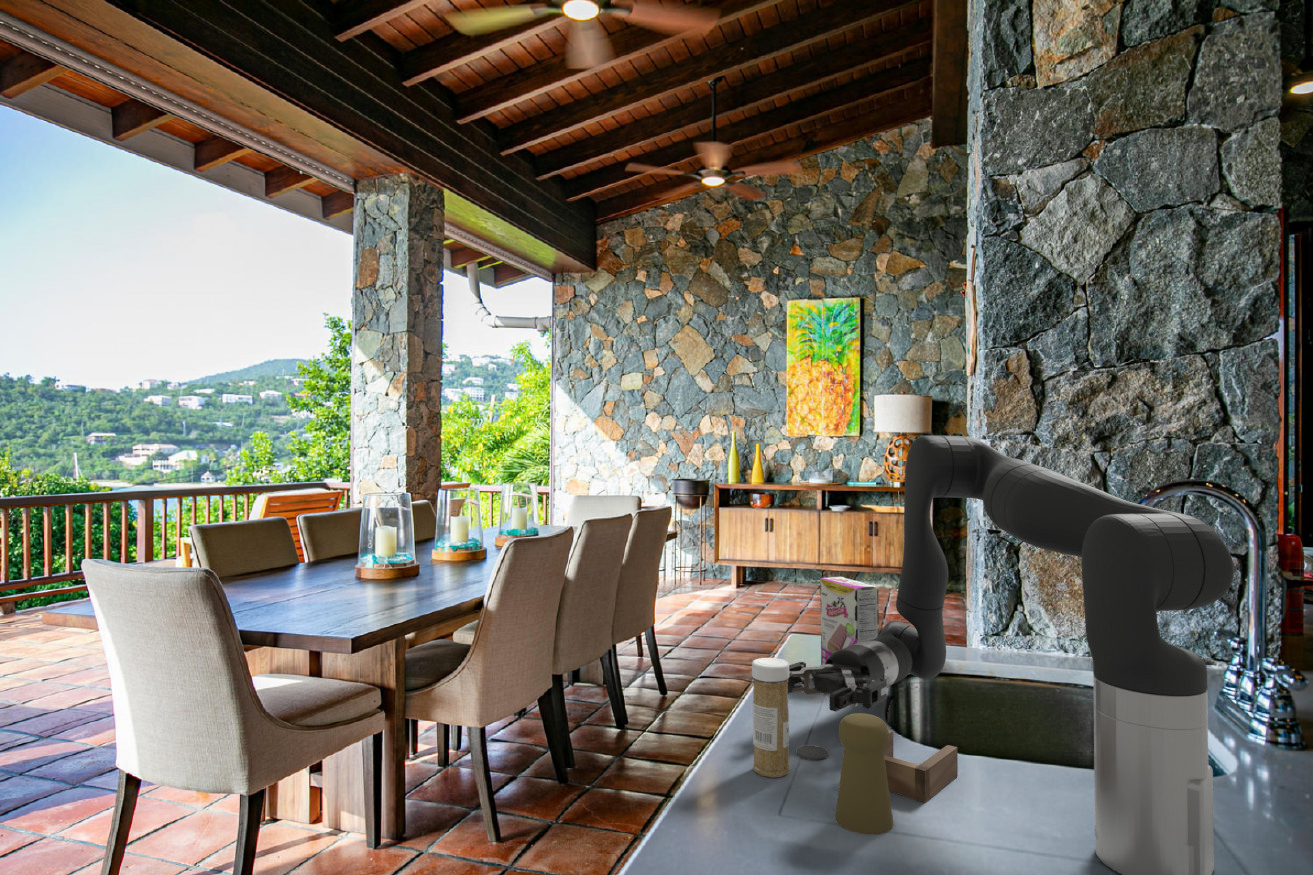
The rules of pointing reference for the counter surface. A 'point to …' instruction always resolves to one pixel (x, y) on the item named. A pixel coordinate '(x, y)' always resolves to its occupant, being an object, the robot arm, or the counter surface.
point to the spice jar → (770, 717)
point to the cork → (864, 776)
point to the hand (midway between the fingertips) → (802, 695)
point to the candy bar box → (847, 614)
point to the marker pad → (812, 752)
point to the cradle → (920, 773)
